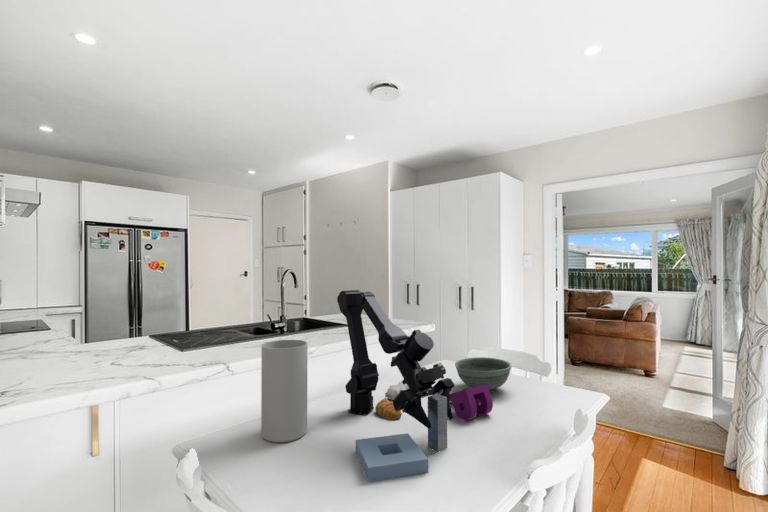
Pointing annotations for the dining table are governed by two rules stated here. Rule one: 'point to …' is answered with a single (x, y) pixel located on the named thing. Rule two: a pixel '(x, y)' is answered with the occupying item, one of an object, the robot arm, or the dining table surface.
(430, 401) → the grey tapered peg
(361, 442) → the blue square washer
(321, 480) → the dining table surface
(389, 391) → the bunny figurine
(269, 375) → the cylinder vase
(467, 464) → the dining table surface
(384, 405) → the pastry
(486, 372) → the bowl
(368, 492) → the dining table surface
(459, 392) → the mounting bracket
